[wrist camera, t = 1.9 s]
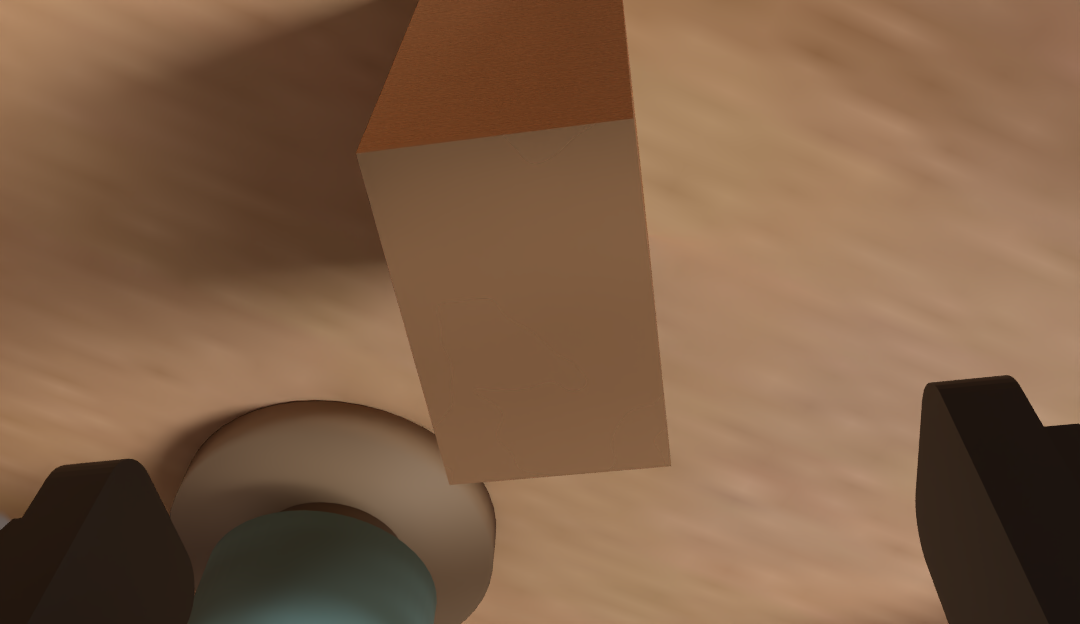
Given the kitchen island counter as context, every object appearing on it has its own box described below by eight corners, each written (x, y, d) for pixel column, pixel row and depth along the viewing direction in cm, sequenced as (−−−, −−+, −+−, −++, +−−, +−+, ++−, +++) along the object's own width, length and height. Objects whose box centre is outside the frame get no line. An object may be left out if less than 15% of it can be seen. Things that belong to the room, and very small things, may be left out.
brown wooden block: (426, -18, 16) (355, 153, 11) (617, -46, 15) (632, 118, 11) (484, 252, 19) (449, 485, 14) (647, 234, 18) (670, 466, 13)
